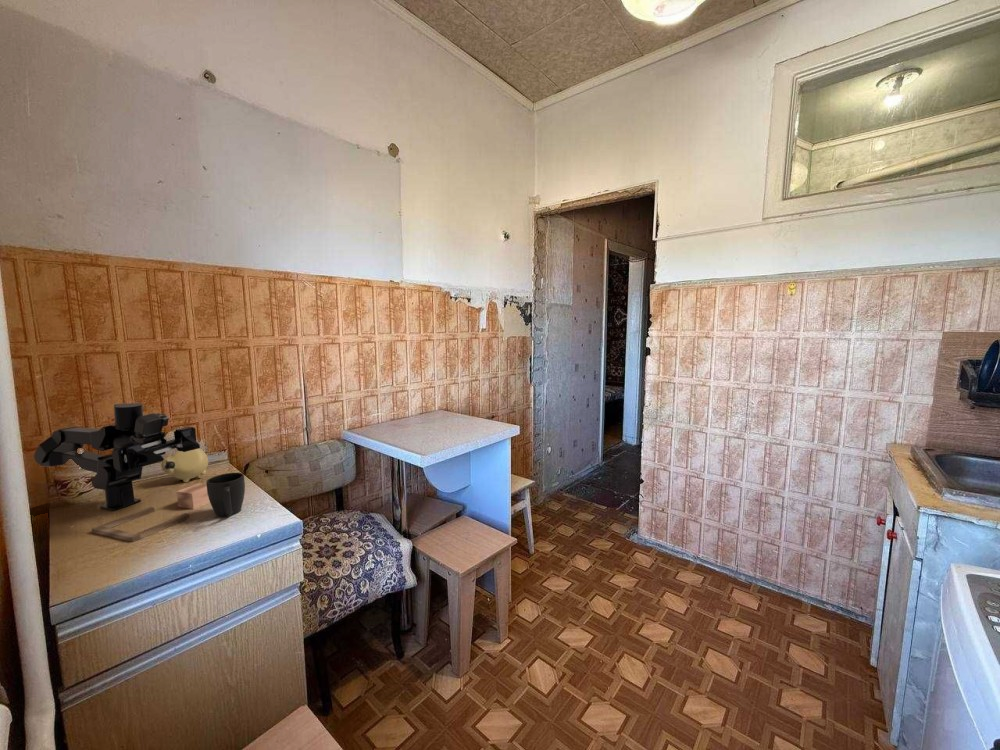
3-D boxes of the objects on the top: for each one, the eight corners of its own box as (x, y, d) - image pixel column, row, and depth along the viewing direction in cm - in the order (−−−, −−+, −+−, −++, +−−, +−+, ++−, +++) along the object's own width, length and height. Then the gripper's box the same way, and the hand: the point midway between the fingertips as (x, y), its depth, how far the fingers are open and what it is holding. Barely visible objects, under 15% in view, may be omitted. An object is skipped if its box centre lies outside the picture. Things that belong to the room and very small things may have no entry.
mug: (207, 528, 98) (203, 491, 97) (210, 510, 108) (207, 476, 107) (247, 519, 103) (244, 483, 101) (246, 503, 113) (243, 470, 112)
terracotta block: (178, 506, 111) (176, 491, 111) (200, 498, 117) (198, 483, 117) (193, 509, 110) (192, 493, 109) (215, 500, 115) (213, 485, 115)
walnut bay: (92, 532, 97) (91, 528, 97) (150, 510, 109) (150, 506, 109) (133, 541, 93) (132, 537, 92) (189, 517, 104) (189, 514, 104)
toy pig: (161, 481, 131) (157, 449, 130) (206, 471, 139) (203, 441, 138) (165, 489, 124) (161, 455, 123) (212, 478, 132) (209, 447, 131)
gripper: (91, 424, 98) (137, 433, 94) (171, 405, 116) (213, 413, 112) (97, 467, 100) (142, 478, 96) (175, 442, 118) (216, 451, 114)
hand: (181, 452), depth 104 cm, fingers open, 9 cm apart
